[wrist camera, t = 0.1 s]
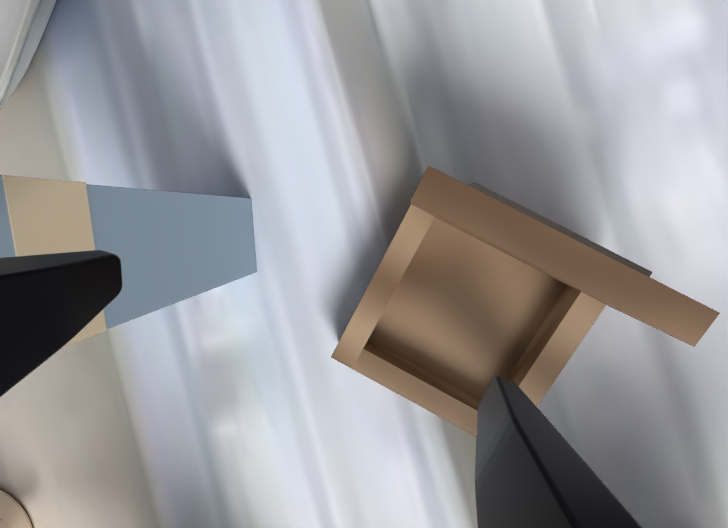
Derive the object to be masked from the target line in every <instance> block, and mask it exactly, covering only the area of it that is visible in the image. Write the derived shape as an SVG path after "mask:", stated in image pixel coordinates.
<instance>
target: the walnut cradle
mask: <svg viewBox="0 0 728 528" xmlns="http://www.w3.org/2000/svg"><path fill="white" fill-rule="evenodd" d="M410 202H411V206H410V207H409V209H408V211H407V213H406V215H405V217H404V219H403V221H402V223H401V225H400V227H399V228H398V230H397V232H396V234H395V236H394V238H393V240H392V242H391V244H390V246H389V248H388V249H387V251H386V253H385V255H384V257H383V259H382V261H381V263H380V265H379V267H378V268H377V270H376V272H375V274H374V276H373V278H372V280H371V282H370V284H369V286H368V288H367V289H366V291H365V293H364V295H363V297H362V299H361V301H360V303H359V305H358V307H357V308H356V310H355V312H354V314H353V316H352V318H351V320H350V322H349V324H348V326H347V328H346V329H345V331H344V333H343V335H342V337H341V339H340V341H339V343H338V345H337V347H336V348H335V350H334V352H333V354H332V356H331V357H332V358H334V359H335V360H337V361H339V362H341V363H343V364H345V365H346V366H348V367H350V368H352V369H354V370H355V371H357V372H359V373H361V374H363V375H365V376H366V377H368V378H370V379H372V380H374V381H376V382H377V383H379V384H381V385H383V386H385V387H387V388H388V389H390V390H392V391H394V392H396V393H397V394H399V395H401V396H403V397H405V398H407V399H408V400H410V401H412V402H414V403H416V404H418V405H419V406H421V407H423V408H425V409H427V410H428V411H430V412H432V413H434V414H436V415H438V416H439V417H441V418H443V419H445V420H447V421H449V422H450V423H452V424H454V425H456V426H458V427H460V428H461V429H463V430H465V431H467V432H469V433H470V434H472V435H474V436H476V435H477V412H478V407H479V404H480V401H481V399H482V397H483V395H484V393H485V391H486V389H487V387H488V385H489V383H490V381H491V380H492V379H493V378H494V377H496V376H499V377H502V378H505V379H508V380H512V381H514V382H515V383H516V384H517V385H518V386H519V387H520V388H521V390H522V391H523V392H524V393H525V394H526V395H527V396H528V398H529V399H530V400H531V401H532V402H533V403H534V404H535V406H536V407H537V406H538V404H539V403H540V401H541V400H542V398H543V397H544V395H545V394H546V392H547V391H548V389H549V388H550V387H551V385H552V384H553V382H554V381H555V379H556V378H557V376H558V375H559V373H560V372H561V370H562V369H563V367H564V366H565V365H566V363H567V362H568V360H569V359H570V357H571V356H572V354H573V353H574V351H575V350H576V348H577V347H578V345H579V344H580V342H581V341H582V340H583V338H584V337H585V335H586V334H587V332H588V331H589V329H590V328H591V326H592V325H593V323H594V322H595V320H596V319H597V318H598V316H599V315H600V313H601V312H602V310H603V309H604V307H605V306H606V305H608V306H610V307H612V308H614V309H616V310H618V311H621V312H623V313H625V314H627V315H629V316H631V317H633V318H635V319H637V320H639V321H641V322H644V323H646V324H648V325H650V326H652V327H654V328H656V329H658V330H660V331H662V332H664V333H667V334H669V335H671V336H673V337H675V338H677V339H679V340H681V341H683V342H685V343H687V344H689V345H692V346H694V347H695V345H696V344H697V343H698V341H699V340H700V339H701V337H702V336H703V335H704V333H705V332H706V331H707V329H708V328H709V327H710V325H711V324H712V323H713V321H714V320H715V319H716V317H717V316H718V315H719V314H720V313H719V312H717V311H715V310H713V309H711V308H709V307H707V306H705V305H703V304H701V303H699V302H697V301H695V300H693V299H691V298H689V297H687V296H685V295H683V294H681V293H679V292H677V291H675V290H673V289H671V288H669V287H667V286H665V285H663V284H661V283H659V282H658V281H656V280H654V279H652V278H650V275H651V274H652V272H651V271H649V270H647V269H645V268H643V267H641V266H639V265H637V264H635V263H633V262H631V261H629V260H627V259H625V258H623V257H621V256H619V255H617V254H615V253H613V252H611V251H609V250H607V249H606V248H604V247H602V246H600V245H598V244H596V243H594V242H592V241H590V240H588V239H586V238H584V237H582V236H580V235H578V234H576V233H574V232H572V231H570V230H568V229H566V228H564V227H562V226H560V225H558V224H556V223H554V222H552V221H550V220H548V219H546V218H544V217H542V216H540V215H538V214H536V213H534V212H532V211H530V210H528V209H526V208H524V207H522V206H520V205H518V204H516V203H514V202H512V201H510V200H508V199H506V198H504V197H502V196H500V195H499V194H497V193H495V192H493V191H491V190H489V189H487V188H485V187H483V186H481V185H479V184H477V183H473V184H471V185H469V186H468V185H466V184H464V183H462V182H460V181H458V180H456V179H454V178H452V177H450V176H448V175H446V174H444V173H442V172H440V171H438V170H436V169H434V168H432V167H430V166H428V168H427V170H426V172H425V174H424V176H423V178H422V179H421V181H420V183H419V185H418V187H417V189H416V191H415V193H414V195H413V197H412V199H411V200H410Z"/></svg>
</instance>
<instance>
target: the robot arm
mask: <svg viewBox="0 0 728 528" xmlns="http://www.w3.org/2000/svg"><path fill="white" fill-rule="evenodd" d="M122 286H123V283H122V268H121V260H120V258H119V256H117V255H116V254H113V253H110V252H107V251H103V250H92V251H79V252H67V253H54V254H41V255H29V256H16V257H4V258H0V397H1V396H2V395H3V394H5V393H6V392H7V391H8V390H10V389H11V388H12V387H13V386H15V385H16V384H17V383H18V382H20V381H21V380H22V379H23V378H25V377H26V376H27V375H28V374H30V373H31V372H32V371H33V370H35V369H36V368H37V367H38V366H40V365H41V364H42V363H43V362H45V361H46V360H47V359H48V358H50V357H51V356H52V355H53V354H55V353H56V352H57V351H58V350H60V349H61V348H62V347H63V346H64V345H66V344H67V343H68V342H69V341H70V340H71V339H73V338H74V337H75V336H76V335H77V334H78V333H79V332H80V331H81V330H82V329H83V328H84V327H85V326H86V325H87V324H88V323H90V322H91V321H92V320H93V319H94V318H95V317H96V316H97V315H98V314H99V313H100V312H101V311H102V310H103V309H104V308H105V307H106V306H107V305H108V304H110V303H111V302H112V301H113V300H114V299H115V298H116V297H117V296H118V295H119V293H120V292H121V290H122ZM475 494H476V508H477V522H478V528H642V527H641V526H640V525H639V523H638V522H637V521H636V520H635V519H634V518H633V517H632V515H631V514H630V513H629V512H628V511H627V510H626V509H625V507H624V506H623V505H622V504H621V503H620V502H619V501H618V499H617V498H616V497H615V496H614V495H613V494H612V493H611V491H610V490H609V489H608V488H607V487H606V486H605V485H604V483H603V482H602V481H601V480H600V479H599V478H598V477H597V475H596V474H595V473H594V472H593V471H592V470H591V469H590V467H589V466H588V465H587V464H586V463H585V462H584V461H583V459H582V458H581V457H580V456H579V455H578V454H577V453H576V451H575V450H574V449H573V448H572V447H571V446H570V445H569V443H568V442H567V441H566V440H565V439H564V438H563V437H562V435H561V434H560V433H559V432H558V431H557V430H556V428H555V427H554V426H553V425H552V424H551V423H550V422H549V420H548V419H547V418H546V417H545V416H544V415H543V414H542V412H541V411H540V410H539V409H538V408H537V407H536V406H535V404H534V403H533V402H532V401H531V400H530V399H529V398H528V396H527V395H526V394H525V393H524V392H523V391H522V390H521V388H520V387H519V386H518V385H517V384H516V383H515V382H514V381H512V380H508V379H505V378H502V377H499V376H496V377H494V378H493V379H492V380H491V381H490V383H489V385H488V387H487V389H486V391H485V393H484V395H483V397H482V399H481V401H480V404H479V407H478V412H477V435H476V462H475Z"/></svg>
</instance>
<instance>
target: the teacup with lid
mask: <svg viewBox="0 0 728 528" xmlns="http://www.w3.org/2000/svg"><path fill="white" fill-rule="evenodd" d="M0 528H32V525H31V522H30V519H29V517H28V515H27V514H26V512H25V511H24V509H23V508H22V507H21V505H20V504H19V503H18V502H17V501H16V500H15V499H14V498H12V497H11V496H10V495H8V494H7V493H5V492H4V491H2V490H0Z"/></svg>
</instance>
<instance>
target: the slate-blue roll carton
mask: <svg viewBox="0 0 728 528" xmlns="http://www.w3.org/2000/svg"><path fill="white" fill-rule="evenodd" d="M92 250H103V251H107V252H110V253H113V254H116V255H117V256H119V258H120V260H121V268H122V283H123V286H122V290H121V292H120V293H119V295H118V296H117V297H116V298H115V299H114V300H113V301H112V302H111V303H110V304H108V305H107V306H106V307H105V308H104V309H103V310H102V311H101V312H100V313H99V314H98V315H97V316H96V317H95V318H94V319H93V320H92V321H91V322H90V323H88V324H87V325H86V326H85V327H84V328H83V329H82V330H81V331H80V332H79V333H78V334H77V335H76V336H75V337H74V338H73V339H71V340H70V341H69V342H68V343H67V344H66V345H64V346H63V347H62V348H64V347H67V346H70V345H72V344H75V343H77V342H80V341H82V340H85V339H88V338H90V337H93V336H95V335H98V334H100V333H103V332H106V331H107V330H106V329H108V328H111V327H114V326H116V325H119V324H121V323H124V322H127V321H129V320H132V319H135V318H137V317H140V316H142V315H145V314H148V313H150V312H153V311H156V310H158V309H161V308H163V307H166V306H169V305H171V304H174V303H177V302H179V301H182V300H184V299H187V298H190V297H192V296H195V295H198V294H200V293H203V292H205V291H208V290H211V289H213V288H216V287H219V286H221V285H224V284H226V283H229V282H232V281H234V280H237V279H239V278H242V277H245V276H247V275H250V274H253V273H255V272H257V267H256V255H255V242H254V229H253V216H252V203H251V198H240V197H229V196H217V195H205V194H193V193H182V192H170V191H158V190H147V189H135V188H123V187H111V186H100V185H88V184H86V183H85V182H74V181H62V180H51V179H40V178H29V177H18V176H7V175H0V258H4V257H16V256H29V255H41V254H54V253H67V252H79V251H92ZM62 348H61V349H62Z"/></svg>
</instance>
